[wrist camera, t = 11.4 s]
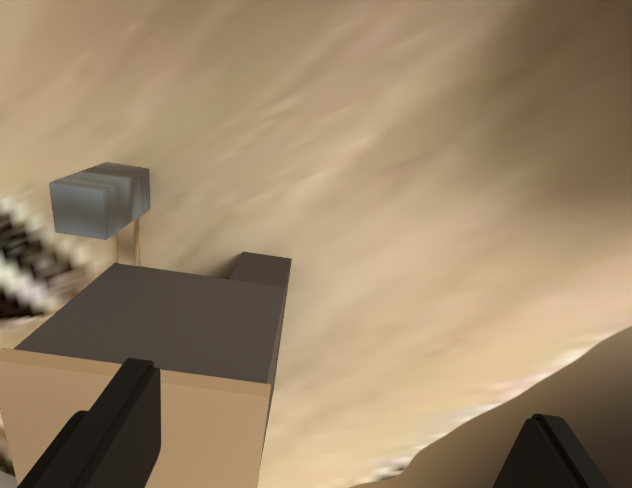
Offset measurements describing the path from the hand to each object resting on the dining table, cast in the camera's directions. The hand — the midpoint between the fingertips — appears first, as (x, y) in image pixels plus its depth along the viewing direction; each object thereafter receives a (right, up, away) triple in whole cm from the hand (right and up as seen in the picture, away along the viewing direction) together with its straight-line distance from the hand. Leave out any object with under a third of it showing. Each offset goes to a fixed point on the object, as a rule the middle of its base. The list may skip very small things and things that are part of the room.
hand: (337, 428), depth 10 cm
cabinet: (-12, -4, +33) cm, 35 cm away
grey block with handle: (-20, +2, +31) cm, 37 cm away
